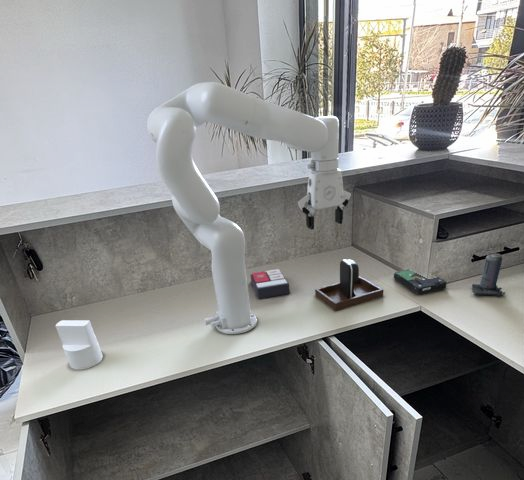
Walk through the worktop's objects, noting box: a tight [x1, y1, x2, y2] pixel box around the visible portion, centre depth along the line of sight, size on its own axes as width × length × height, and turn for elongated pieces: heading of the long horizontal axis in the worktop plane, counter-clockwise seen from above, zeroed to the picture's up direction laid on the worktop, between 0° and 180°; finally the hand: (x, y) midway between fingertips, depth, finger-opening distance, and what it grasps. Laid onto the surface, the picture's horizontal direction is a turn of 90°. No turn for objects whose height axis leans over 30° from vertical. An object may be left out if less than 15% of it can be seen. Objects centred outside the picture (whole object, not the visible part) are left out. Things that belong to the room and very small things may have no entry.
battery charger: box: [339, 258, 360, 299], centre depth 138 cm, size 7×4×11 cm, turn 17°
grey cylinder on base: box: [471, 252, 506, 297], centre depth 132 cm, size 9×8×12 cm
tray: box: [314, 276, 384, 312], centre depth 141 cm, size 18×13×3 cm
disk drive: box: [393, 268, 447, 296], centre depth 144 cm, size 10×3×15 cm
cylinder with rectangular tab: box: [55, 319, 104, 370], centre depth 120 cm, size 9×9×12 cm
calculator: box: [250, 268, 290, 299], centre depth 151 cm, size 11×4×15 cm
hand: (324, 225), depth 133 cm, fingers open, 9 cm apart
